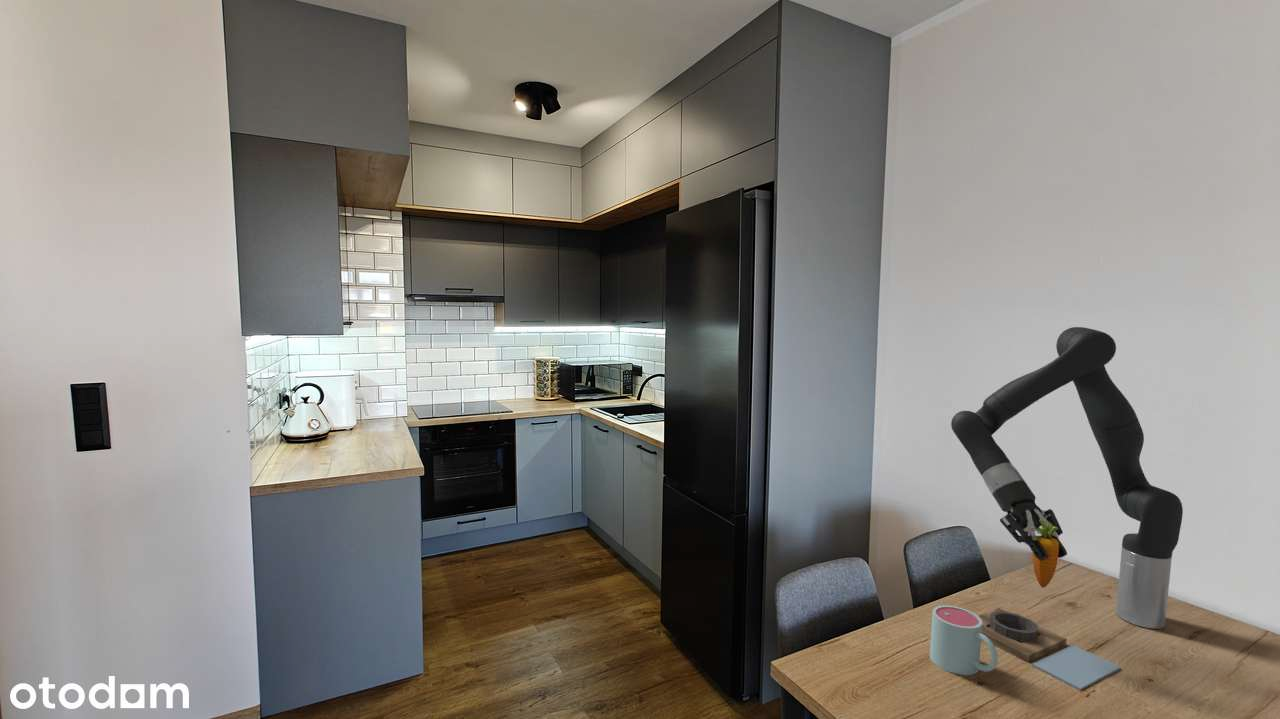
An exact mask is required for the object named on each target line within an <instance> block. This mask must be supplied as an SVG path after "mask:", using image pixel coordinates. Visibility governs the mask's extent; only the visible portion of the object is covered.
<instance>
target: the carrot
mask: <svg viewBox="0 0 1280 719" xmlns="http://www.w3.org/2000/svg"><path fill="white" fill-rule="evenodd" d="M1039 522H1040V524H1041V526H1040V528H1037V529H1038V530H1039V531H1040V532H1041V533H1042V535H1041V534H1039V535H1036V537H1037V540H1036V541H1039V542H1040V543H1041V545H1042V546H1043V548H1044V549H1045V551H1046V552H1047V554H1048V556H1049V557H1048V558H1047V559H1045V560H1042V561H1040V560H1038V558H1037V557H1036V556H1035V555H1034V553H1033V552H1032V563H1033V571H1034V574H1035V577H1036V580H1037V582H1038V584H1039V586H1040V587H1041V588H1042V589H1044V588H1046V587H1047V586H1048V585H1049V584H1050V582H1051V581H1052V579H1053V577H1054V575H1055V572H1056V569H1057V565H1058V552H1059V542H1058V541H1057V540H1056V539H1054V538H1052V537H1051V536H1052V535H1053V534H1054V532H1055V531H1056V530H1057V529H1058V528H1057V527H1056V526H1055V527H1053V525H1052V524H1051V523H1048V528H1049V532H1048V530H1047V527H1046V524H1045V522H1044V520H1043V519H1040V520H1039Z"/></svg>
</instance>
